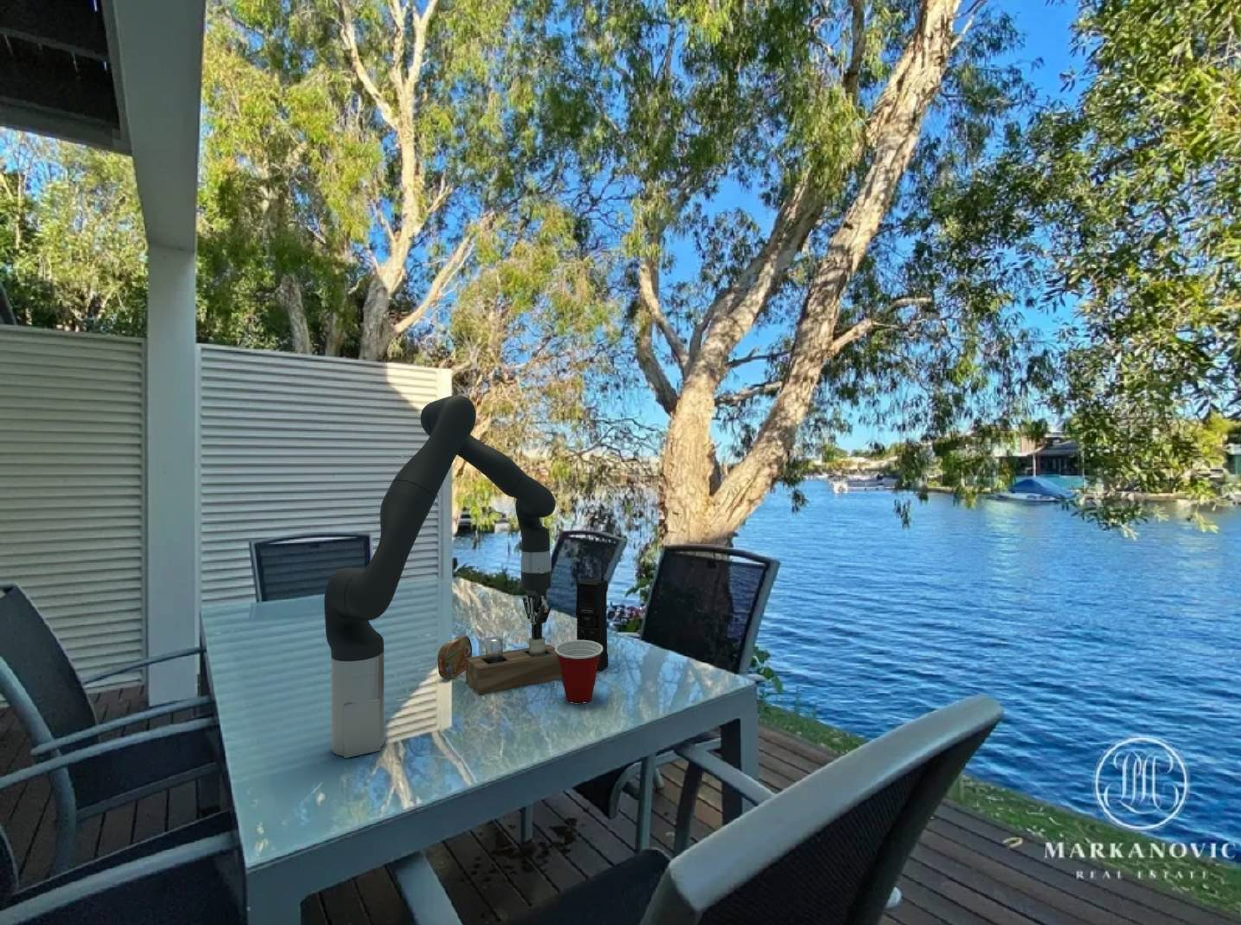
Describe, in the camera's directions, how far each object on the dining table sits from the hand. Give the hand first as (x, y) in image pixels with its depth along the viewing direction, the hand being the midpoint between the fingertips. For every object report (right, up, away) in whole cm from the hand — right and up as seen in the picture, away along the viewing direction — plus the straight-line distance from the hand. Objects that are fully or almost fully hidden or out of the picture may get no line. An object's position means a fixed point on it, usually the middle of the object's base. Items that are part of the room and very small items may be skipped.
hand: (536, 638), depth 160 cm
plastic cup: (+12, -9, -16) cm, 22 cm away
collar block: (-5, -9, -3) cm, 11 cm away
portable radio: (+13, -10, +7) cm, 17 cm away
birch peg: (0, -6, 0) cm, 6 cm away
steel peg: (-9, -5, -6) cm, 12 cm away
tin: (-21, -10, +4) cm, 24 cm away
